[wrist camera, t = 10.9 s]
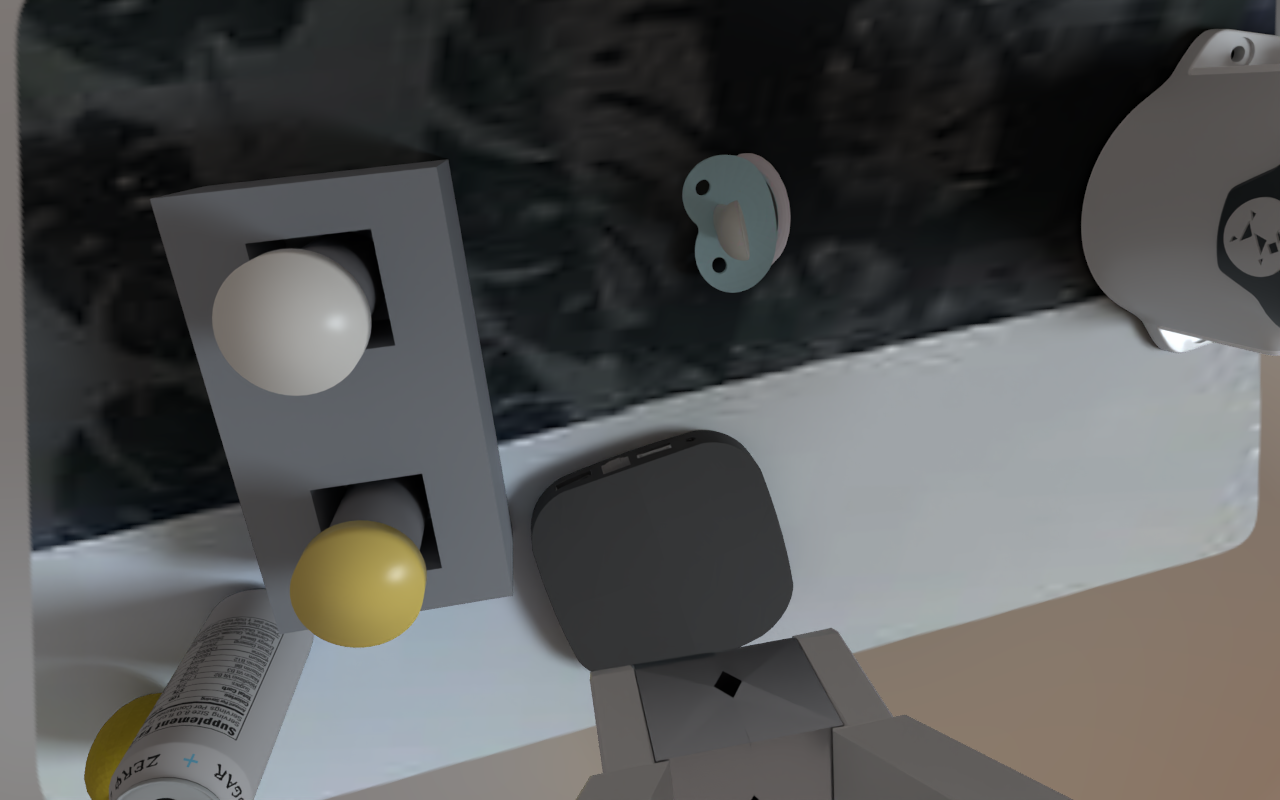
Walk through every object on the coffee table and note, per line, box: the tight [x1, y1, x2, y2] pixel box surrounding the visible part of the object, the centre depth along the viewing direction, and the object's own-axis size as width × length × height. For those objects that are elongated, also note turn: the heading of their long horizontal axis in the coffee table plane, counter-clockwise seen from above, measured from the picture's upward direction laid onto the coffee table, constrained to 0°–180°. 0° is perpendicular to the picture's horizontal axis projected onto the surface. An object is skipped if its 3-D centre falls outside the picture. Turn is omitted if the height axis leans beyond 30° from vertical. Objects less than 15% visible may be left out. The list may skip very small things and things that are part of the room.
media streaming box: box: [531, 431, 793, 672], centre depth 51 cm, size 15×15×3 cm
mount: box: [150, 159, 513, 634], centre depth 42 cm, size 12×22×7 cm, turn 6°
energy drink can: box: [109, 589, 314, 800], centre depth 42 cm, size 6×6×15 cm
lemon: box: [84, 693, 162, 800], centre depth 46 cm, size 6×6×8 cm
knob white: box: [212, 231, 385, 396], centre depth 37 cm, size 6×6×11 cm
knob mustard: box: [290, 474, 429, 647], centre depth 41 cm, size 6×6×11 cm
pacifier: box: [682, 153, 791, 293], centre depth 43 cm, size 7×6×6 cm
